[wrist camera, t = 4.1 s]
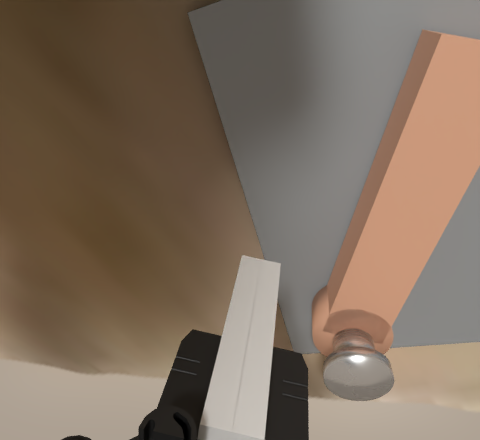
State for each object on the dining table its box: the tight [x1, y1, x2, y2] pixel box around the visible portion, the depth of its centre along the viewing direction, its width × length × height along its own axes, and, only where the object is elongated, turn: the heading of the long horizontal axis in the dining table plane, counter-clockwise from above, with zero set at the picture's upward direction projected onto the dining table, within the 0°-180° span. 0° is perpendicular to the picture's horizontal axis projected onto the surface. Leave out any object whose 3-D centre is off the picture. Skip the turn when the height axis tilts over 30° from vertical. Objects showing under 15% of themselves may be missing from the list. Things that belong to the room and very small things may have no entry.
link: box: [312, 29, 480, 357], centre depth 21 cm, size 21×5×3 cm, turn 171°
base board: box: [188, 0, 480, 354], centre depth 21 cm, size 26×26×1 cm
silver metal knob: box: [323, 329, 394, 401], centre depth 23 cm, size 4×4×3 cm
